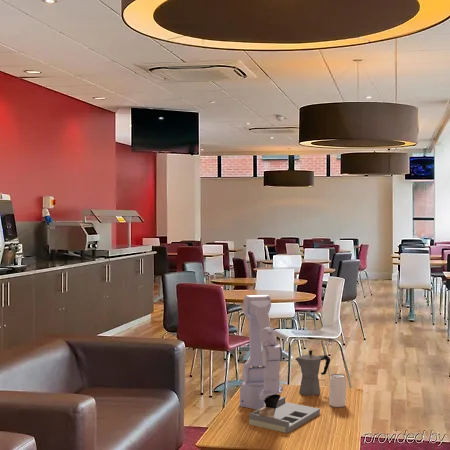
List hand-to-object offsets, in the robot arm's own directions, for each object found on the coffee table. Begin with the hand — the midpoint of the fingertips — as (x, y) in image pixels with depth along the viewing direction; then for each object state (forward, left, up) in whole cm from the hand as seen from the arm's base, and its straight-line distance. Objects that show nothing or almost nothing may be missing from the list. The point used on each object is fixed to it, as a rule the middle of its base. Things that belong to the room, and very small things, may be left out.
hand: (270, 414), depth 272 cm
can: (+11, +34, -3) cm, 36 cm away
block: (0, -3, -1) cm, 4 cm away
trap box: (+2, +7, -3) cm, 8 cm away
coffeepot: (-5, +44, -3) cm, 44 cm away
